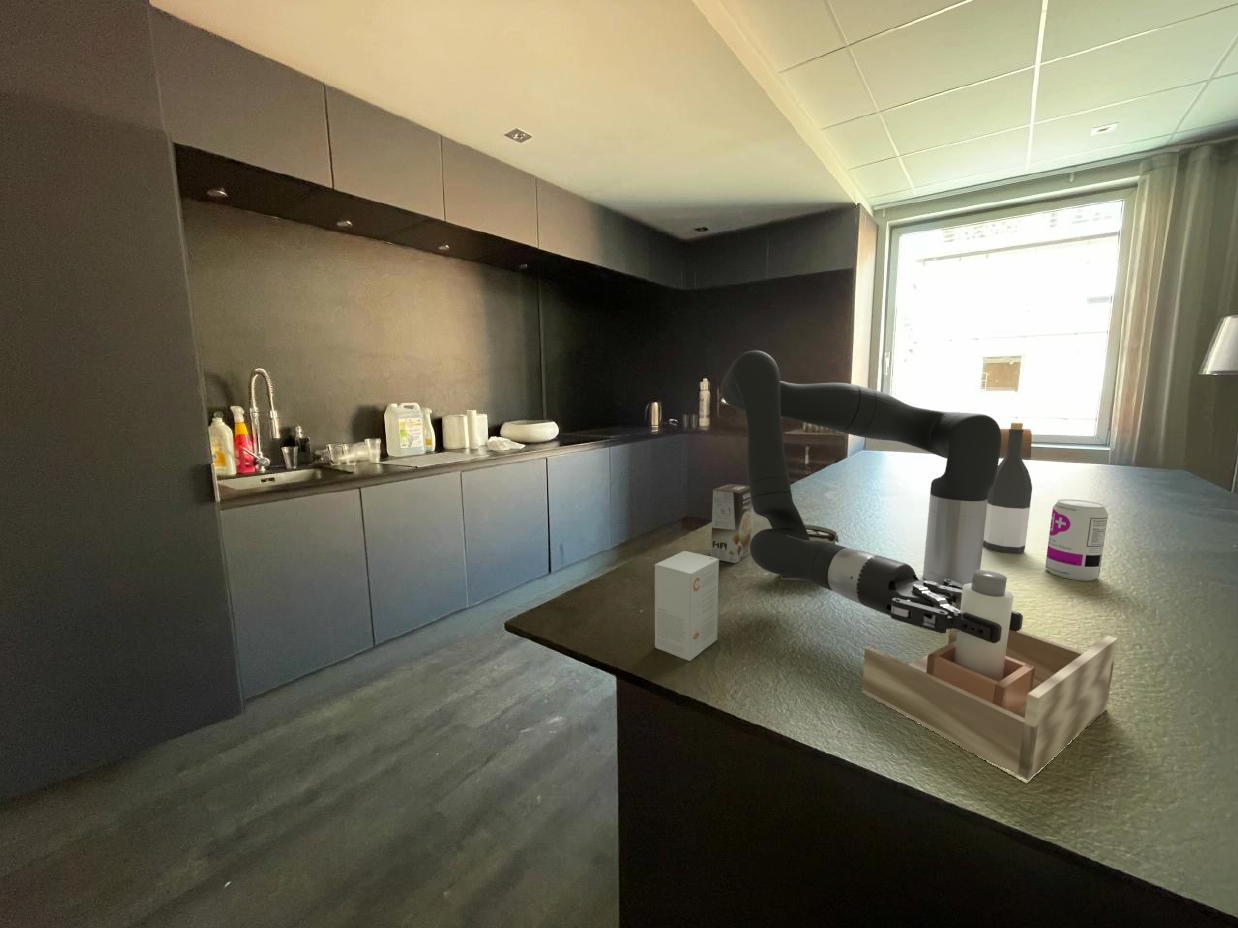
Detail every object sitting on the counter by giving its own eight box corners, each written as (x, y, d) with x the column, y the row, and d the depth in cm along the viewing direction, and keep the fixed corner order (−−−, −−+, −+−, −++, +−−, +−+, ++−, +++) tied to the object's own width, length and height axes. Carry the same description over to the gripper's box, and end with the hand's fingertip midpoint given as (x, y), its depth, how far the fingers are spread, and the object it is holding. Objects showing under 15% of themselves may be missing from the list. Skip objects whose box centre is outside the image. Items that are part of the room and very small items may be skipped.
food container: (826, 569, 104) (829, 524, 102) (836, 580, 98) (839, 532, 96) (767, 568, 105) (768, 522, 104) (773, 578, 99) (775, 530, 98)
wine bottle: (973, 543, 121) (986, 422, 117) (1003, 542, 122) (1016, 421, 118) (1002, 554, 113) (1017, 424, 109) (1033, 553, 114) (1049, 423, 110)
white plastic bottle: (963, 668, 63) (976, 564, 61) (1008, 688, 59) (1023, 577, 57) (944, 679, 61) (957, 572, 59) (989, 700, 57) (1004, 586, 55)
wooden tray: (950, 646, 72) (956, 588, 71) (1106, 709, 58) (1117, 638, 57) (861, 692, 62) (866, 625, 60) (1027, 784, 47) (1038, 698, 46)
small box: (682, 627, 79) (684, 549, 77) (718, 640, 75) (720, 558, 73) (653, 647, 73) (653, 563, 71) (689, 662, 69) (691, 573, 67)
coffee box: (736, 564, 107) (739, 492, 105) (710, 558, 111) (711, 489, 109) (752, 553, 115) (754, 485, 113) (726, 548, 119) (728, 482, 116)
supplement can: (1054, 578, 98) (1064, 505, 96) (1038, 565, 106) (1046, 497, 104) (1107, 584, 95) (1118, 509, 93) (1086, 570, 103) (1096, 500, 101)
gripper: (841, 564, 67) (984, 612, 52) (900, 547, 74) (1041, 585, 59) (837, 616, 68) (976, 677, 53) (896, 594, 75) (1033, 643, 61)
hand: (1009, 628), depth 57 cm, fingers closed on white plastic bottle, 4 cm apart
